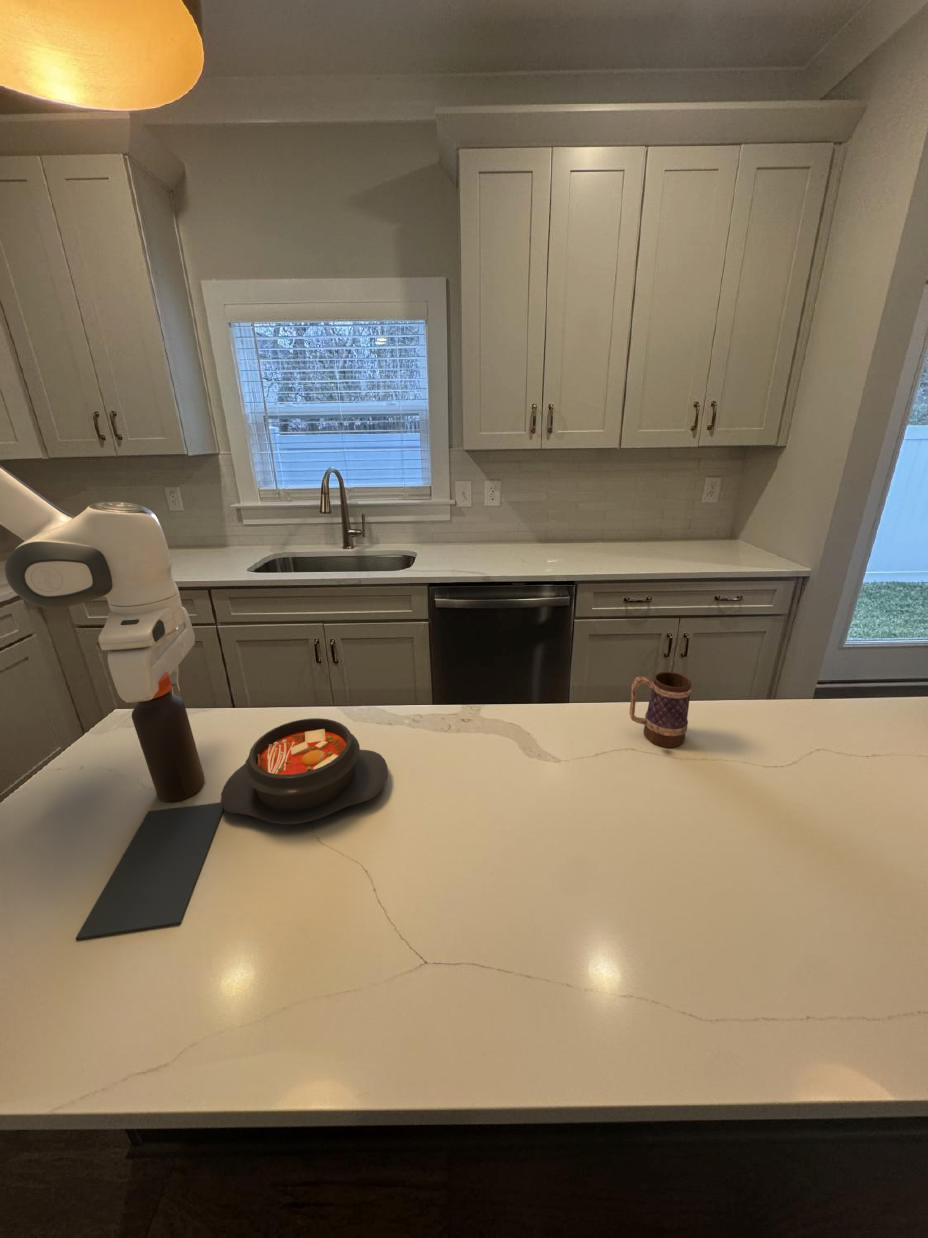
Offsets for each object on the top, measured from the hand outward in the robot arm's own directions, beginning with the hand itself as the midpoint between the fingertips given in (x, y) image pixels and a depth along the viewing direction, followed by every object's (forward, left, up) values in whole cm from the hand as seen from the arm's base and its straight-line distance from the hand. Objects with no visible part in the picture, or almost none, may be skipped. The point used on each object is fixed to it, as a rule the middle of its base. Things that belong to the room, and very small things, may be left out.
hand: (171, 697), depth 79 cm
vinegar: (0, -4, -14) cm, 15 cm away
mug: (+80, -5, -14) cm, 81 cm away
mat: (+3, -19, -14) cm, 24 cm away
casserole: (+20, -8, -14) cm, 26 cm away
